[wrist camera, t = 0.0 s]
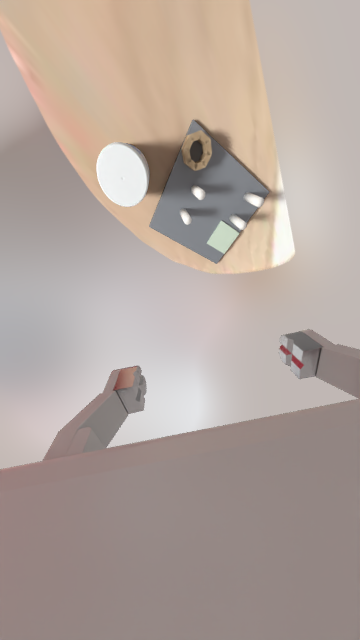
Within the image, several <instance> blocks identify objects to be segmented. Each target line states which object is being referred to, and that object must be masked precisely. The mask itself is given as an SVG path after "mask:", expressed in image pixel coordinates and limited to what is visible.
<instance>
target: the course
mask: <svg viewBox="0 0 360 640" xmlns="http://www.w3.org/2000/svg"><path fill="white" fill-rule="evenodd" d="M200 130H202V131H203V132H204V133H205V134H206V135H207V136H208V137H209V138H210V139H211V149H212V155H211V157H210V159H209V161H208V163H207V165H206V167H205V168H202V169H200V170H197V171H194V170H192V169H191V168H189V167H188V166H187V165H186V164H184V162H183V156H182V151H181V149H180V152H179V154H178V156H177V159H176V161H175V164H174V166H173V169H172V171H171V174H170V176H169V178H168V181H167V183H166V186H165V188H164V191H163V193H162V196H161V198H160V200H159V203H158V205H157V208H156V210H155V213H154V215H153V218H152V220H151V222H150V225H149V227H151V228H152V229H154V230H156V231H158V232H160V233H161V234H163V235H165V236H167V237H169V238H171V239H172V240H174V241H176V242H178V243H180V244H181V245H183V246H185V247H187V248H189V249H191V250H192V251H194V252H196V253H198V254H200V255H201V256H203V257H205V258H207V259H209V260H211V261H212V262H214V263H216V264H217V263H218V262H219V260H220V259H221V257H222V256H223V255H224V253H222V252H220V251H219V250H217V249H215V248H214V247H212V246H210V245H209V244H207V242H208V240H209V238H210V237H211V235H212V234H213V232H214V231H215V229H216V228H217V226H218V224H219V223H220V221H223V222H224V223H226V224H227V225H229V226H230V227H231V228H233V229H234V230H236V231H237V232H239V233H240V231H241V230H244V229H245V228H246V226H247V222H248V220H249V219H250V218H251V216H252V215H253V214H254V212H255V211H256V210H257V208H258V207H261V206H262V205H263V203H264V199H265V197H266V196H267V194H268V193H269V191H268V190H267V189H266V188H265V187H264V186H263V185H262V184H261V183H259V182H258V181H257V180H256V179H255V178H254V177H253V176H252V175H251V174H250V173H249V172H248V171H247V170H246V169H245V168H244V167H243V166H242V165H241V164H240V163H238V162H237V161H236V160H235V159H234V158H233V157H232V156H231V155H230V154H229V153H228V152H227V151H226V150H225V149H224V148H223V147H222V146H221V145H220V144H219V143H217V142H216V141H215V140H214V139H213V138H212V137H211V136H210V135H209V134H208V133H207V132H206V131H205V130H204V129H203V128H202V127H201V126H200V125H199V124H197V123H196V122H195V121H194V120H192V122H191V125H190V127H189V130H188V132H187V134H186V136H187V135H189V134H192V133H195V132H197V131H200ZM185 139H186V137H185ZM185 139H184V141H185ZM183 143H184V142H183ZM182 146H183V144H182ZM181 148H182V147H181ZM201 155H202V145H201V144H200V143H199V142H198V141H197V140H196V141H193V143H192V145H191V148H190V157H191V160H193V161H194V162H197V161H199V160H200V157H201Z"/></svg>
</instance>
